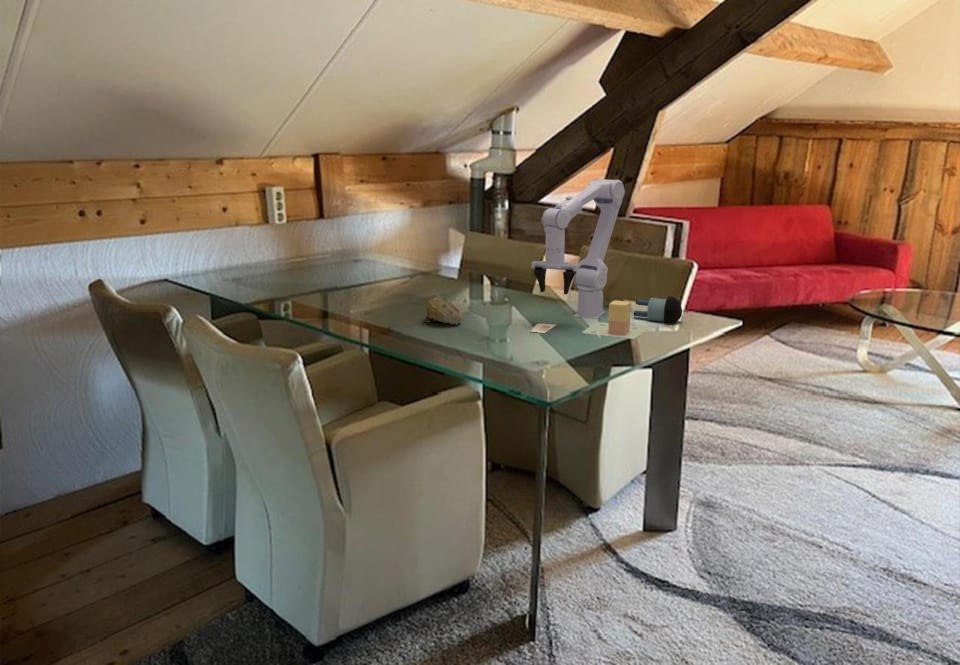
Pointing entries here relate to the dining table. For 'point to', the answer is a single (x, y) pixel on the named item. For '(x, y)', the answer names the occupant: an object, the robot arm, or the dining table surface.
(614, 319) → the ochre brick
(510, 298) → the dining table surface
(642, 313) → the toy
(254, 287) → the dining table surface
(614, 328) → the terracotta brick
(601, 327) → the plate
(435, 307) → the seashell
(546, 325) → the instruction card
